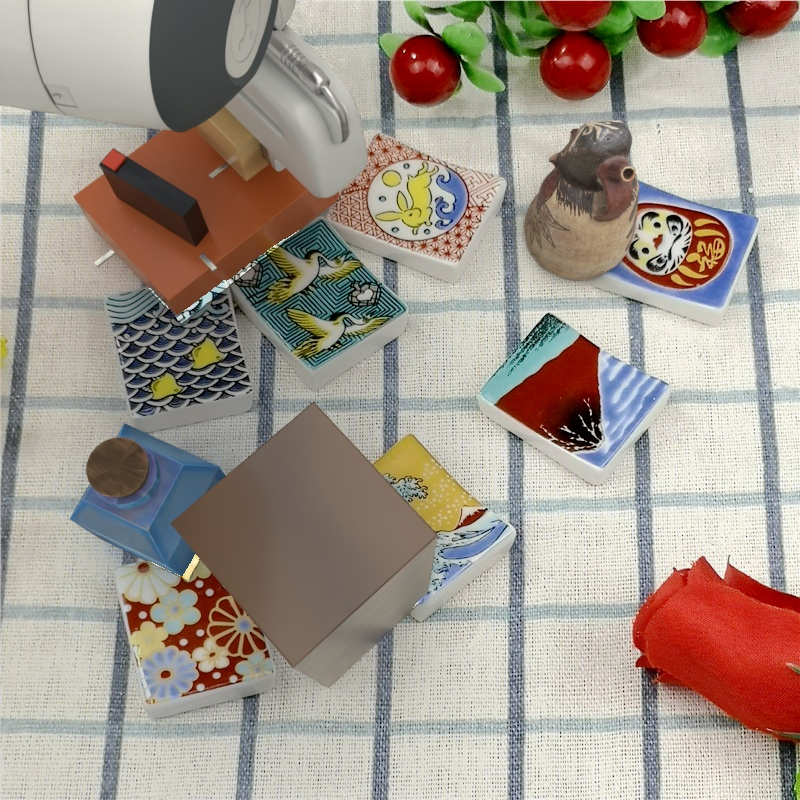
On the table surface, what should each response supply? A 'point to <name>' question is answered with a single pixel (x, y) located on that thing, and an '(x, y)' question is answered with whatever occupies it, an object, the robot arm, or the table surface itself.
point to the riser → (313, 546)
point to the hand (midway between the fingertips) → (248, 126)
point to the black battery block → (154, 197)
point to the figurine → (585, 204)
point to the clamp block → (222, 210)
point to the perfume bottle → (143, 495)
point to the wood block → (233, 143)
